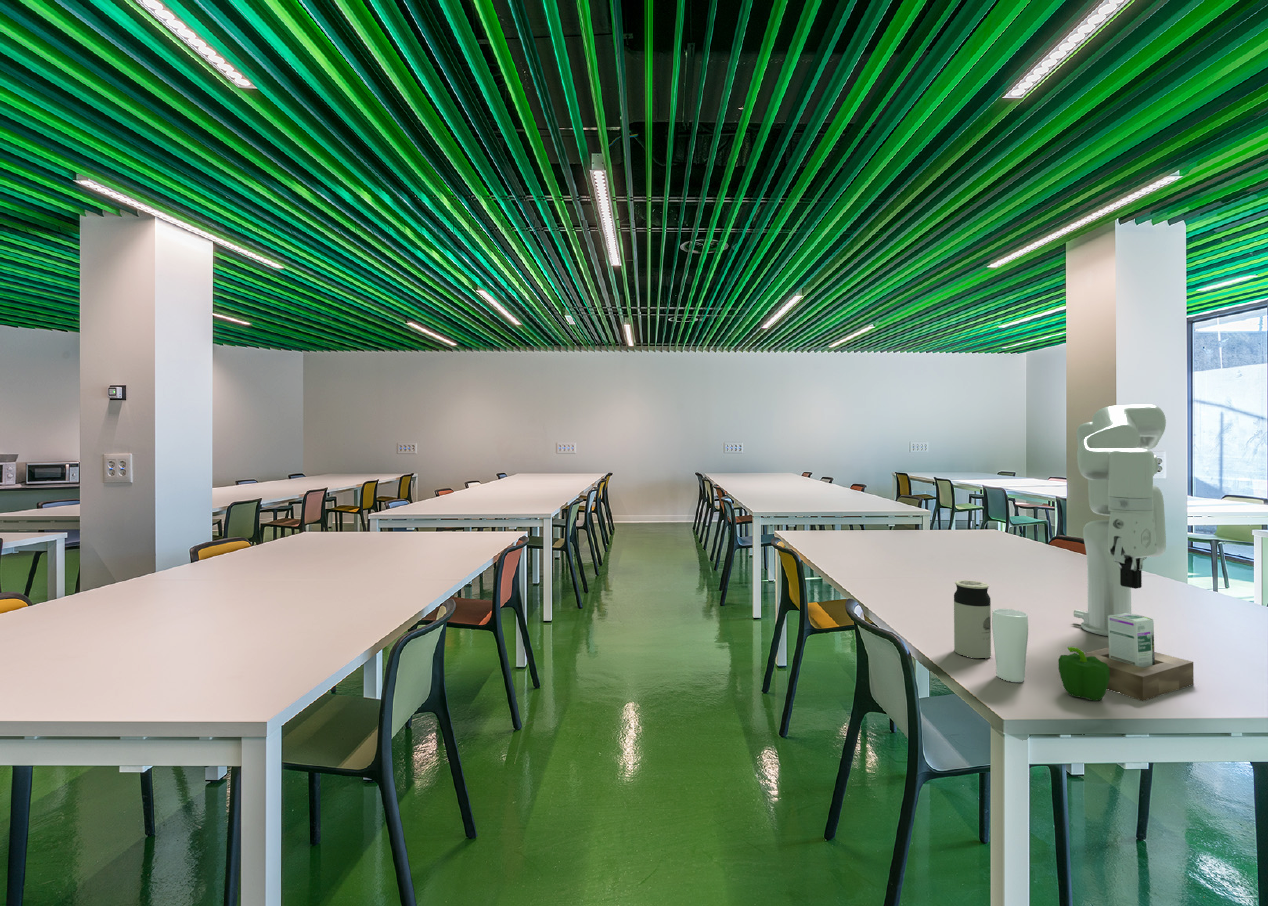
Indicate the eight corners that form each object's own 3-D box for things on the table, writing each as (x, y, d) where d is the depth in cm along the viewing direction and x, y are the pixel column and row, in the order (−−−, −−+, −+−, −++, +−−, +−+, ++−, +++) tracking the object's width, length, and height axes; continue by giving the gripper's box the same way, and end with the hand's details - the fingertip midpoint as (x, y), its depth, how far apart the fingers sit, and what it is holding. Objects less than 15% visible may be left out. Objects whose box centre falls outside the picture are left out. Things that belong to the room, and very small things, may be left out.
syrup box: (1138, 688, 121) (1137, 621, 121) (1107, 677, 127) (1107, 613, 127) (1155, 684, 123) (1155, 618, 123) (1125, 674, 129) (1124, 611, 129)
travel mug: (947, 651, 145) (946, 581, 145) (969, 647, 147) (968, 578, 147) (975, 661, 137) (975, 588, 137) (998, 657, 140) (997, 585, 140)
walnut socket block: (1072, 678, 127) (1072, 656, 127) (1122, 664, 135) (1122, 643, 135) (1143, 701, 115) (1142, 676, 115) (1193, 684, 123) (1193, 661, 123)
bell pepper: (1110, 695, 118) (1110, 647, 118) (1109, 708, 112) (1108, 658, 112) (1060, 684, 123) (1060, 639, 124) (1056, 696, 117) (1056, 648, 117)
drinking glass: (994, 670, 131) (994, 606, 131) (1029, 677, 127) (1029, 611, 127) (990, 679, 126) (990, 613, 126) (1027, 687, 122) (1026, 618, 122)
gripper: (1131, 508, 119) (1132, 595, 119) (1169, 504, 124) (1170, 587, 125) (1091, 505, 125) (1091, 587, 126) (1128, 501, 131) (1129, 579, 132)
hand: (1130, 586), depth 125 cm, fingers closed
